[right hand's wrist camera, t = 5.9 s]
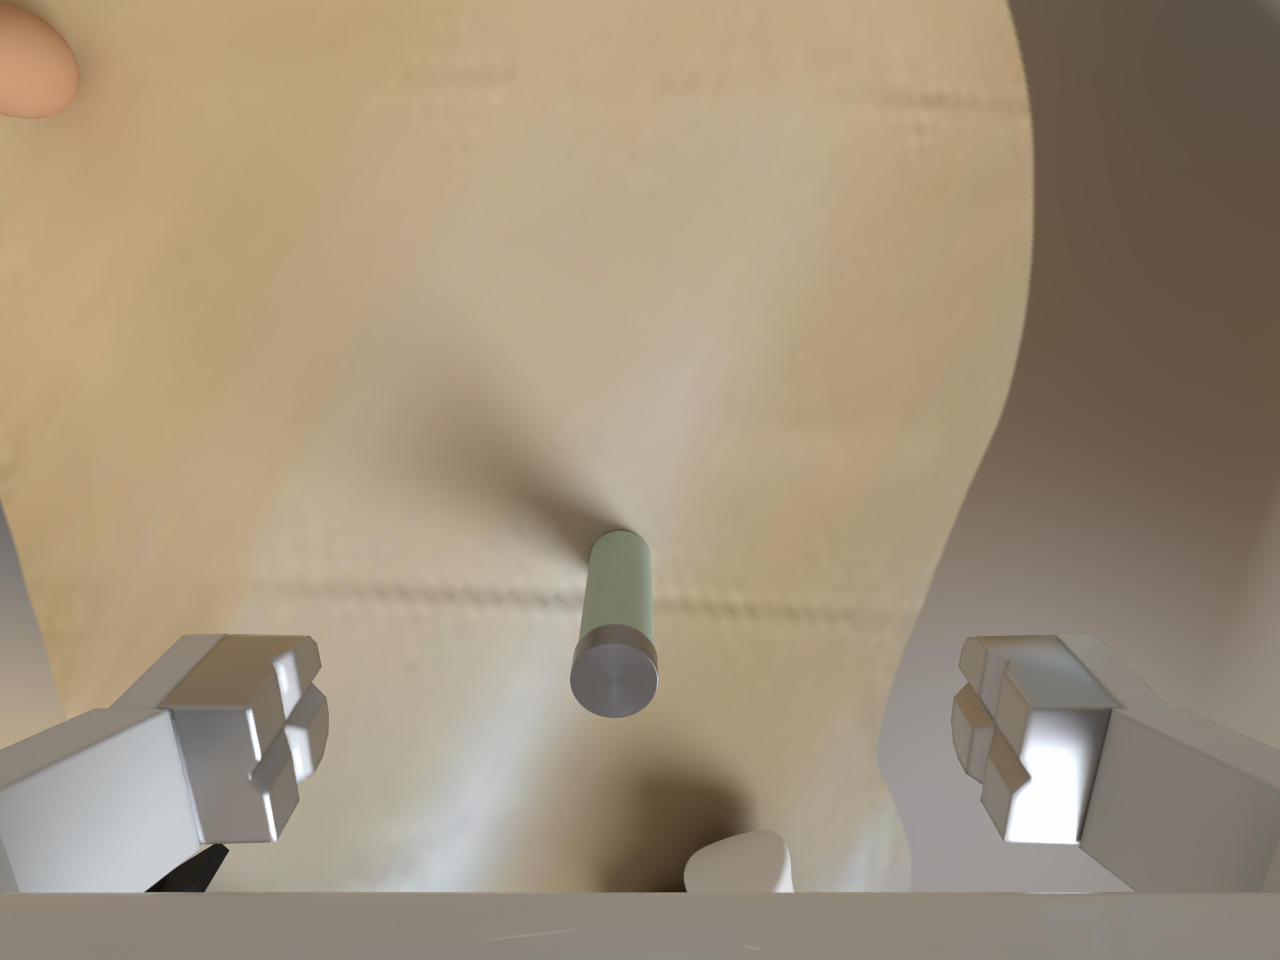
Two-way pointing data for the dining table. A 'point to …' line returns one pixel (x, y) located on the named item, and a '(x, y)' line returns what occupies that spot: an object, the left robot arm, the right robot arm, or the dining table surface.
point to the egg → (33, 66)
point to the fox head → (741, 865)
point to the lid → (614, 671)
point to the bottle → (619, 584)
